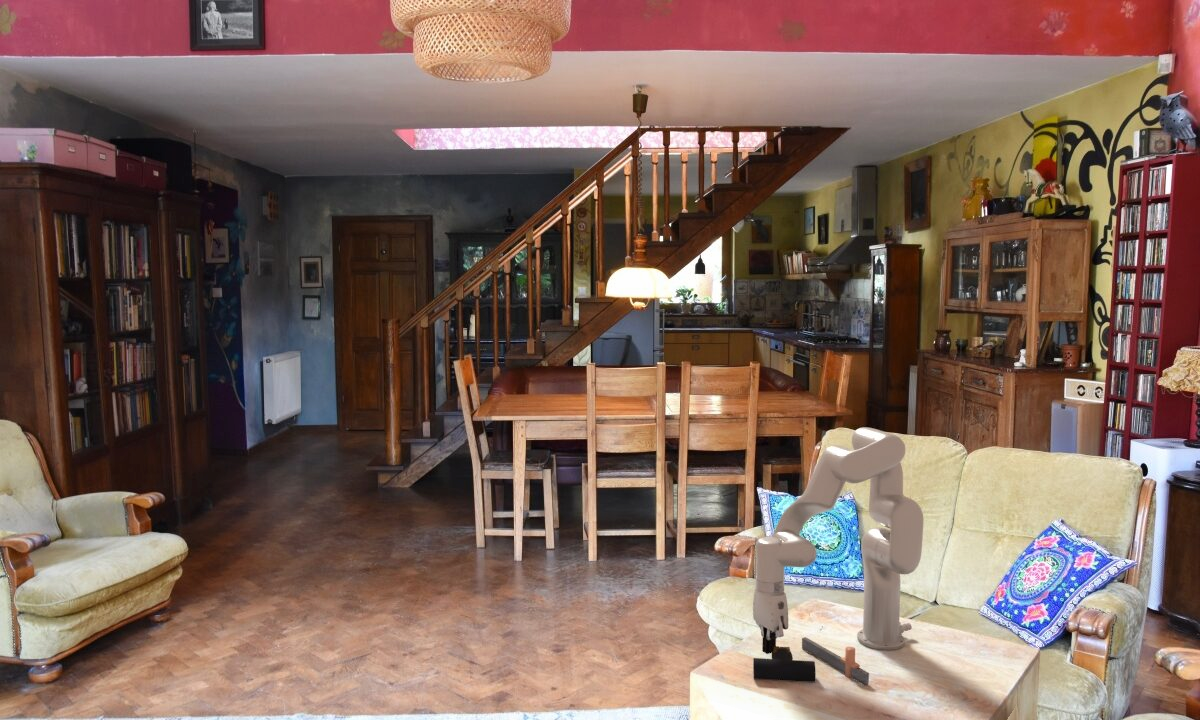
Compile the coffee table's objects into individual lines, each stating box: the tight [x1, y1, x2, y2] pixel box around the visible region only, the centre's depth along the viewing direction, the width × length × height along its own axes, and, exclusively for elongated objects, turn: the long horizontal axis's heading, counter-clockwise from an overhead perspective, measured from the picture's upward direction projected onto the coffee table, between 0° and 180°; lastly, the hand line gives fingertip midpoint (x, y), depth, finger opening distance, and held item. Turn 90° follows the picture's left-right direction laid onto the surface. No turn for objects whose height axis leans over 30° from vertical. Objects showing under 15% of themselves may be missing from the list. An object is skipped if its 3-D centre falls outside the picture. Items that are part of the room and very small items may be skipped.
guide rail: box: [801, 636, 870, 686], centre depth 221 cm, size 2×24×7 cm, turn 26°
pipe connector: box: [752, 645, 817, 683], centre depth 218 cm, size 12×5×15 cm
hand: (769, 651), depth 226 cm, fingers closed
